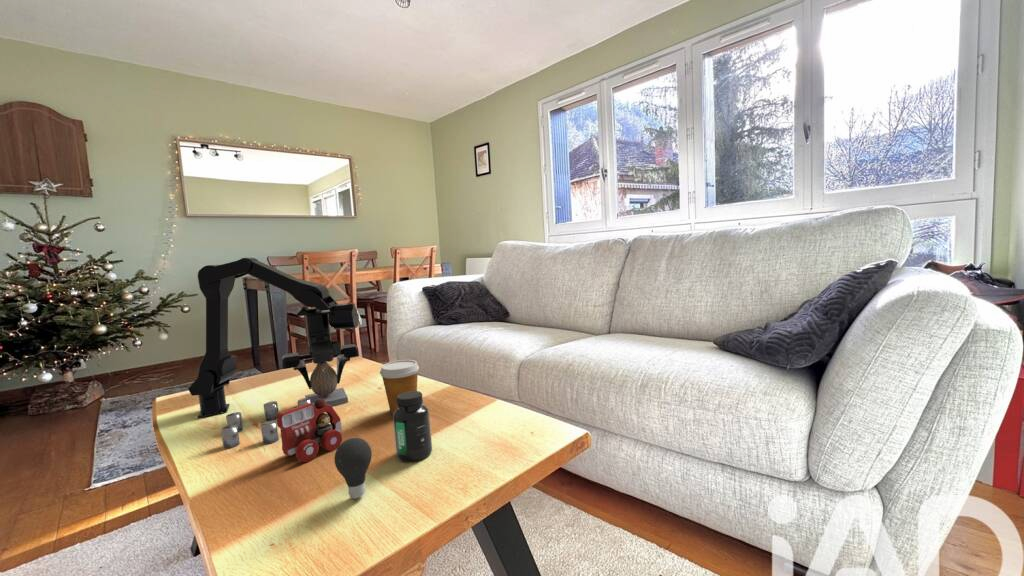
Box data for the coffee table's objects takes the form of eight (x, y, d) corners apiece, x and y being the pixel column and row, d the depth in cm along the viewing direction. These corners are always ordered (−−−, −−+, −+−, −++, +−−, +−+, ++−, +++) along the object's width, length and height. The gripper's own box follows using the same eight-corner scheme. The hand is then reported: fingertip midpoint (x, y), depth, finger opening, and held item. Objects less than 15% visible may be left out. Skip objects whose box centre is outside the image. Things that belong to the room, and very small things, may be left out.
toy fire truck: (351, 442, 88) (346, 395, 87) (292, 470, 78) (286, 417, 77) (332, 435, 92) (327, 390, 91) (274, 461, 82) (268, 410, 81)
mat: (305, 400, 116) (305, 395, 116) (343, 392, 121) (342, 387, 121) (307, 411, 108) (306, 406, 107) (348, 402, 112) (347, 397, 112)
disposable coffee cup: (430, 407, 105) (426, 361, 104) (402, 421, 97) (397, 372, 96) (404, 401, 110) (400, 357, 109) (375, 415, 102) (371, 367, 101)
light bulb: (345, 490, 70) (339, 433, 69) (379, 486, 70) (373, 430, 69) (334, 510, 64) (327, 449, 63) (370, 506, 65) (364, 445, 64)
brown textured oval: (343, 388, 117) (340, 358, 116) (330, 397, 110) (327, 365, 109) (320, 389, 118) (317, 359, 117) (306, 398, 111) (302, 366, 110)
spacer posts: (230, 426, 101) (228, 410, 101) (311, 408, 110) (309, 393, 109) (220, 455, 85) (218, 437, 85) (316, 432, 94) (314, 415, 94)
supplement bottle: (402, 467, 76) (397, 404, 75) (392, 453, 82) (386, 394, 81) (437, 455, 80) (432, 395, 79) (425, 442, 86) (420, 386, 84)
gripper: (279, 340, 101) (286, 402, 102) (359, 329, 110) (364, 386, 111) (279, 334, 111) (286, 390, 112) (353, 324, 120) (358, 376, 121)
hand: (324, 386), depth 114 cm, fingers closed on brown textured oval, 7 cm apart
